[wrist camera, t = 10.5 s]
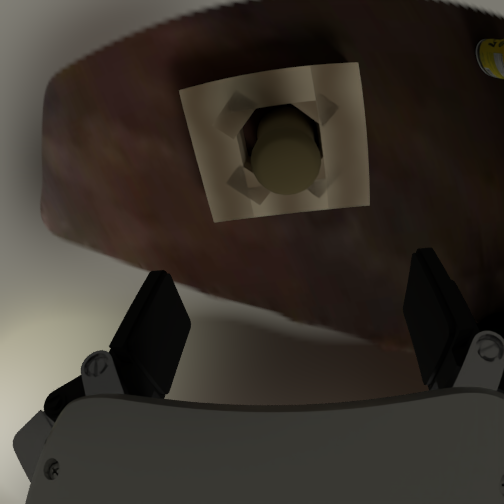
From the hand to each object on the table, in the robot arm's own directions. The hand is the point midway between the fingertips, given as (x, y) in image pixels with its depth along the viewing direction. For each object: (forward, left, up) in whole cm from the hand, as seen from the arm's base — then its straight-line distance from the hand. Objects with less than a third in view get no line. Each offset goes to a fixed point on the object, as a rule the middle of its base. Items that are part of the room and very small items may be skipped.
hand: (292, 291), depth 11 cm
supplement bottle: (-25, -10, -23) cm, 35 cm away
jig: (+1, -1, -23) cm, 22 cm away
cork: (0, -1, -23) cm, 23 cm away
